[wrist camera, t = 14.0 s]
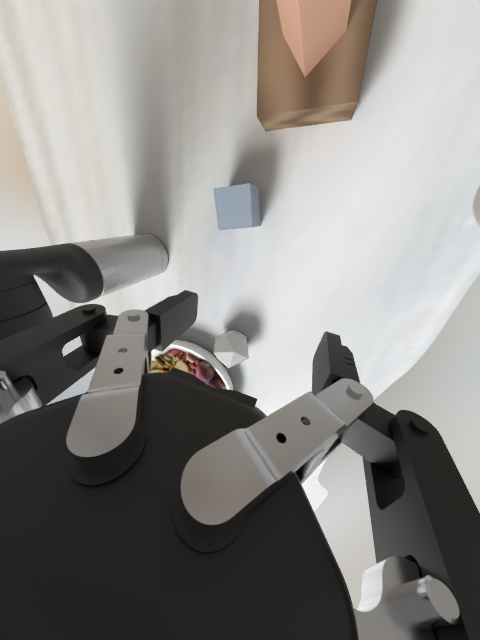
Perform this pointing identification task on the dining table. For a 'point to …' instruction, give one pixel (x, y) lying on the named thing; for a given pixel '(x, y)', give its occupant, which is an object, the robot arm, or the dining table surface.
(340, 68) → the walnut block
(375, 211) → the dining table surface
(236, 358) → the die
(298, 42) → the pillar block
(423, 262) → the dining table surface
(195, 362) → the bowl
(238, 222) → the slate cube
